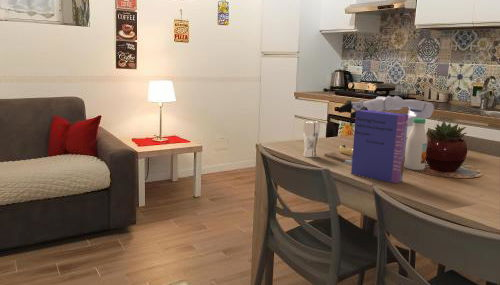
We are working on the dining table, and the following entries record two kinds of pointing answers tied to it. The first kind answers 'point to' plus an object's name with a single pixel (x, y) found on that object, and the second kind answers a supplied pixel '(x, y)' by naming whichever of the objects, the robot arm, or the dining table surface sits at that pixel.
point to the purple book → (379, 145)
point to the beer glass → (311, 138)
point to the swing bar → (346, 150)
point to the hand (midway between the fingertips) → (344, 112)
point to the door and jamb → (340, 157)
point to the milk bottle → (416, 146)
